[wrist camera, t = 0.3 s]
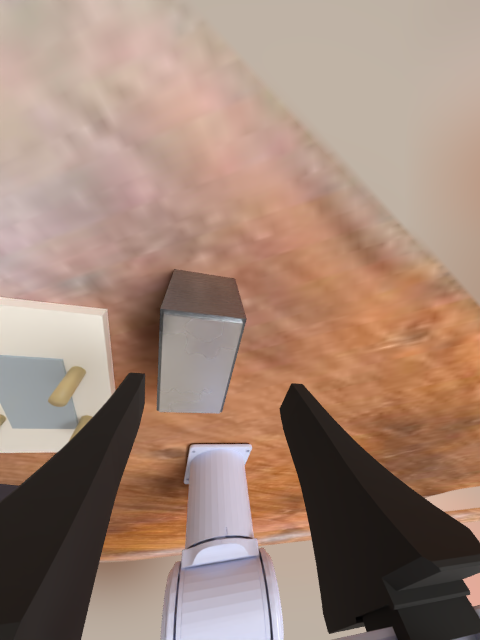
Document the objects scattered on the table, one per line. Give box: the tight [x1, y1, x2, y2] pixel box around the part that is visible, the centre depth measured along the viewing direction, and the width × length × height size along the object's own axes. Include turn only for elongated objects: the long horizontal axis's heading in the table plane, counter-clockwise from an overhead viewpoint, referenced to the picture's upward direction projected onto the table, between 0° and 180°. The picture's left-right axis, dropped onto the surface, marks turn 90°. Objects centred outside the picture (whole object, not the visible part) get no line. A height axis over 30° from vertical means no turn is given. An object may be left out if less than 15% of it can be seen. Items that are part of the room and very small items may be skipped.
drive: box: [157, 269, 246, 413], centre depth 16 cm, size 8×4×6 cm, turn 168°
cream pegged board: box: [0, 297, 115, 453], centre depth 19 cm, size 18×12×4 cm, turn 168°
